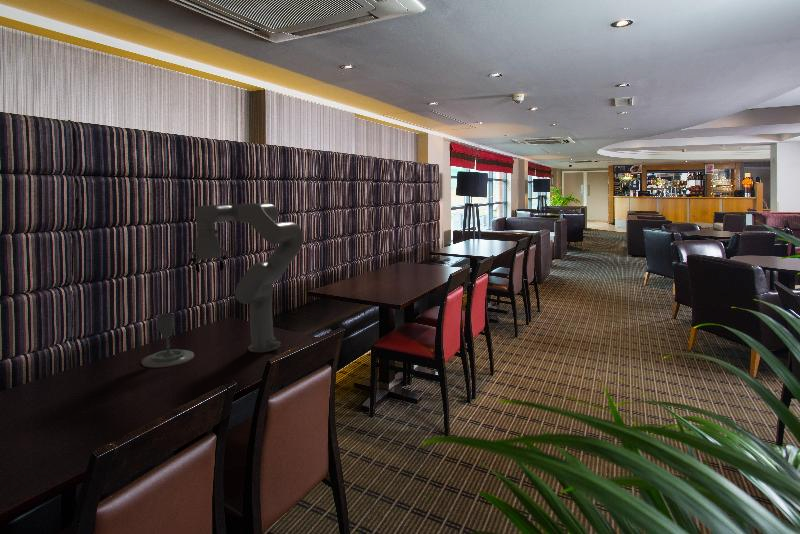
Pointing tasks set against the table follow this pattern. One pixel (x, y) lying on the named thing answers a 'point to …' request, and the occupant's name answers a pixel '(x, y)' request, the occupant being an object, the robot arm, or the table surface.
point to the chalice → (166, 330)
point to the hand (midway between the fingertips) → (210, 271)
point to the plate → (158, 365)
